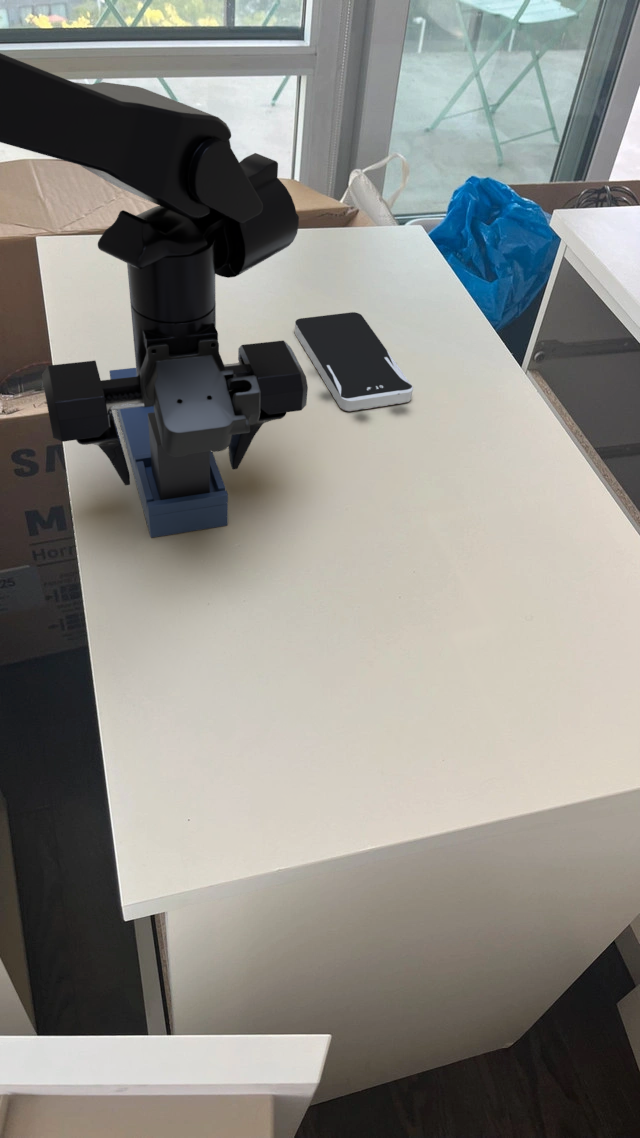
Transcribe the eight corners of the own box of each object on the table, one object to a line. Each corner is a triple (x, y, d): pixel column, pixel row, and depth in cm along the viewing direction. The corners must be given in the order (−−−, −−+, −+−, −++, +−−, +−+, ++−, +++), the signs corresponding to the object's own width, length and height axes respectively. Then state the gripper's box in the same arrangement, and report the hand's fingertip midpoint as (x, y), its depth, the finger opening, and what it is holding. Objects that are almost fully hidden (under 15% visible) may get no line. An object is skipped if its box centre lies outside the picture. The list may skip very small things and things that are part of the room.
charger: (161, 503, 68) (157, 445, 64) (151, 470, 70) (147, 412, 66) (211, 495, 69) (210, 437, 65) (200, 464, 72) (198, 406, 67)
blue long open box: (150, 538, 69) (148, 507, 66) (111, 392, 81) (108, 360, 79) (227, 525, 71) (228, 494, 68) (178, 384, 83) (176, 353, 80)
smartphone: (359, 311, 93) (416, 391, 83) (357, 322, 94) (413, 402, 84) (293, 319, 90) (344, 402, 81) (292, 330, 91) (342, 413, 82)
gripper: (43, 386, 50) (76, 565, 62) (341, 353, 55) (320, 523, 67) (25, 288, 57) (58, 465, 68) (291, 267, 62) (280, 435, 74)
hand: (181, 473), depth 69 cm, fingers open, 8 cm apart
